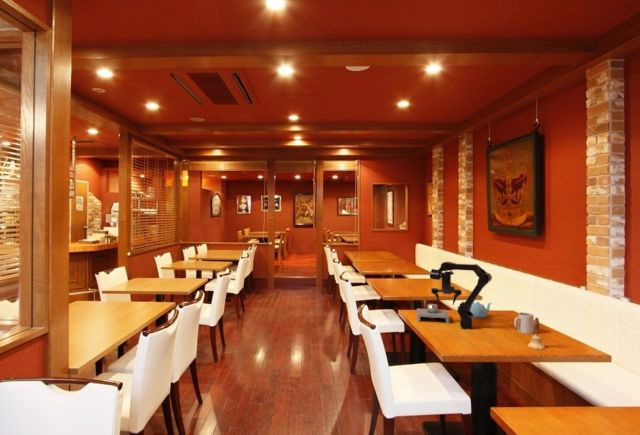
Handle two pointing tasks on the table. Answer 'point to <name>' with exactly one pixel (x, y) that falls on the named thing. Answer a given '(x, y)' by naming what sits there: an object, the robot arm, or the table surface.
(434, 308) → the grey beige cylinder
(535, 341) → the hand bell
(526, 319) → the mug
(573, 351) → the table surface
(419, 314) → the base
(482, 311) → the teapot
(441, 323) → the table surface
